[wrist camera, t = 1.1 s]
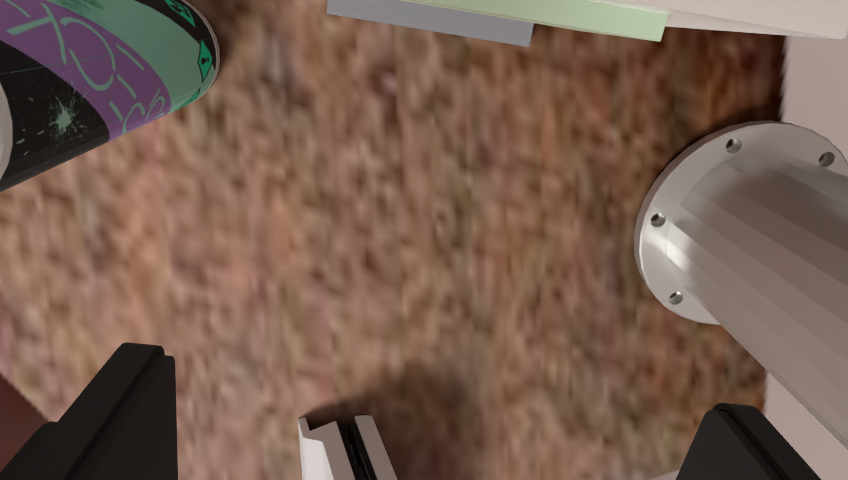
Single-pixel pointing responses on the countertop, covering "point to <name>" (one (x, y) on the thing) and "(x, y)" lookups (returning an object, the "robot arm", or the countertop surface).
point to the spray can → (93, 74)
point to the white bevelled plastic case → (344, 452)
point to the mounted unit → (603, 16)
